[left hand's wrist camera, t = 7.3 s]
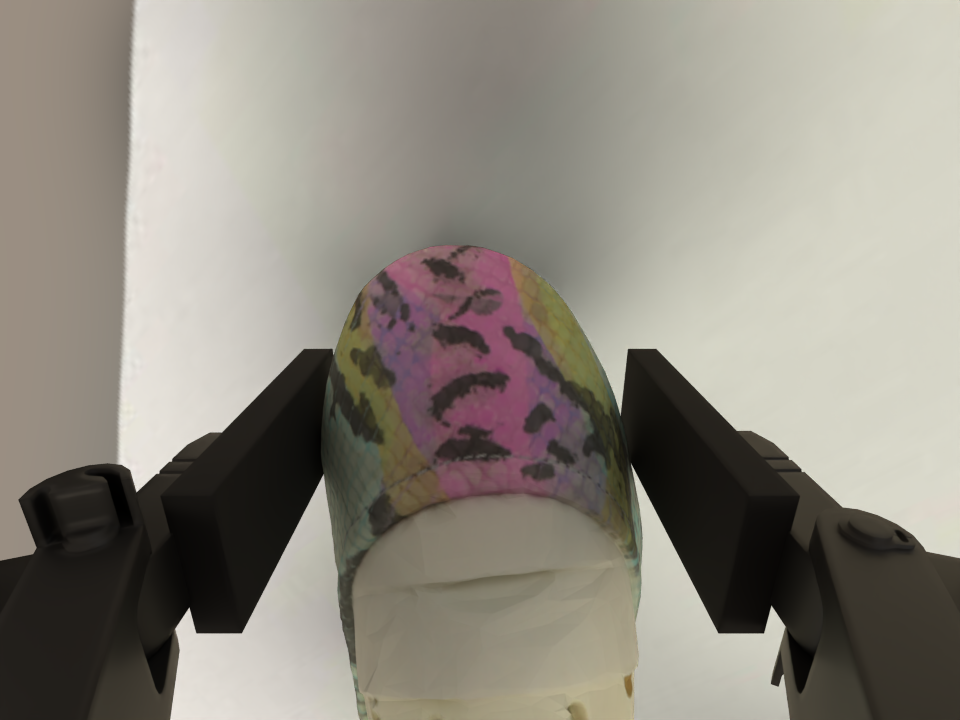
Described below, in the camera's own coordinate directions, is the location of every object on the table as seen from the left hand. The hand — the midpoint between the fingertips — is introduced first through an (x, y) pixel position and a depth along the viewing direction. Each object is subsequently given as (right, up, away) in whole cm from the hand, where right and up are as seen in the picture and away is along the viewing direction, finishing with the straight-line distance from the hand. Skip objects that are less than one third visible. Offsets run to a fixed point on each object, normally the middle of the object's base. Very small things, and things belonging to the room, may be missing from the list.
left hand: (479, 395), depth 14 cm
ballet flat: (0, -7, +3) cm, 8 cm away
